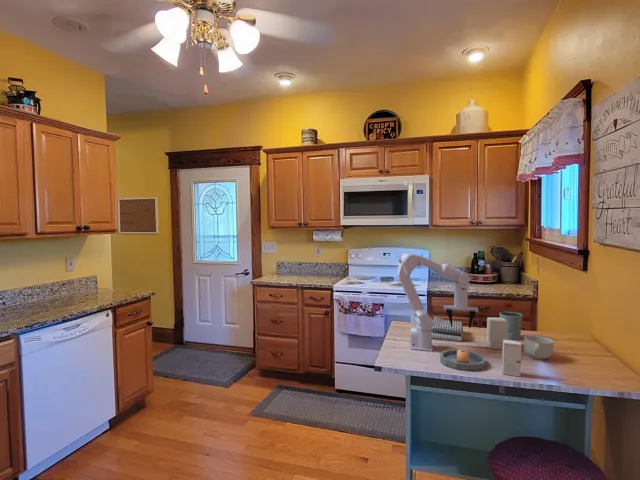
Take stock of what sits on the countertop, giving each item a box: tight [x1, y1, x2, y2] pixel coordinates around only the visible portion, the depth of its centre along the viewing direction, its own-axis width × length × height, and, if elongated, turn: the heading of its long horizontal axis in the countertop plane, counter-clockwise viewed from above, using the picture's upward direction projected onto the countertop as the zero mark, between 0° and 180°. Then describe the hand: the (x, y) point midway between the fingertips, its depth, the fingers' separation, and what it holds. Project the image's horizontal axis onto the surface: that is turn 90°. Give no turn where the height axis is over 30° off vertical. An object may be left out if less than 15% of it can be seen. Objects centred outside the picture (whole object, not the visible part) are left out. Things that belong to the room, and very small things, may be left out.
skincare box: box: [501, 340, 522, 377], centre depth 139 cm, size 6×4×12 cm
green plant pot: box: [499, 311, 523, 341], centre depth 183 cm, size 10×10×12 cm
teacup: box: [523, 334, 555, 360], centre depth 155 cm, size 14×11×8 cm
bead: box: [457, 349, 469, 364], centre depth 146 cm, size 4×4×5 cm
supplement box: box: [486, 317, 508, 350], centre depth 170 cm, size 7×7×13 cm
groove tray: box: [439, 348, 487, 372], centre depth 151 cm, size 17×17×2 cm
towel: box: [432, 315, 464, 342], centre depth 188 cm, size 15×18×8 cm
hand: (460, 326), depth 169 cm, fingers open, 7 cm apart
